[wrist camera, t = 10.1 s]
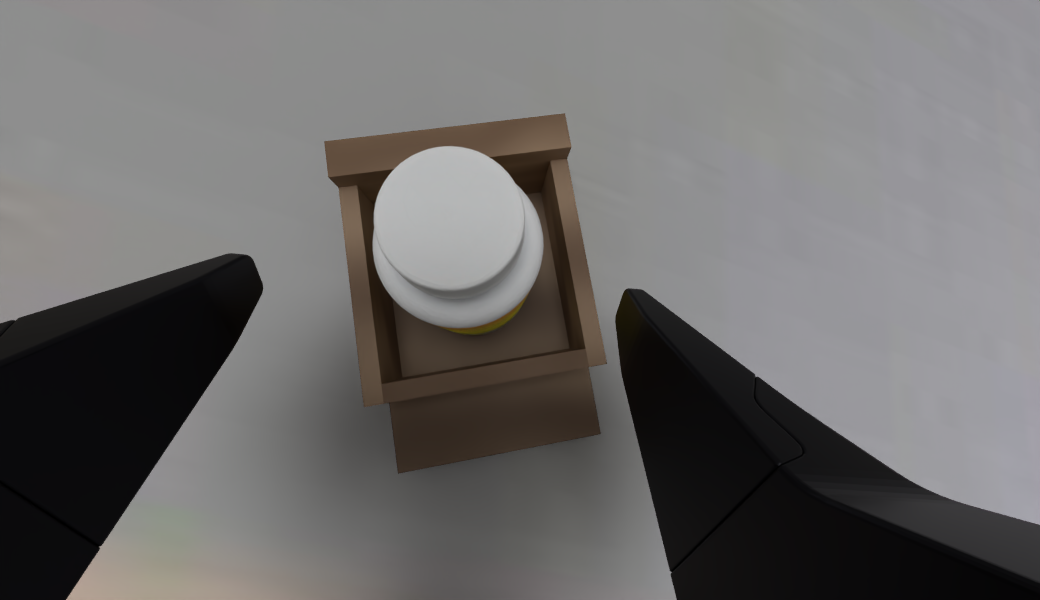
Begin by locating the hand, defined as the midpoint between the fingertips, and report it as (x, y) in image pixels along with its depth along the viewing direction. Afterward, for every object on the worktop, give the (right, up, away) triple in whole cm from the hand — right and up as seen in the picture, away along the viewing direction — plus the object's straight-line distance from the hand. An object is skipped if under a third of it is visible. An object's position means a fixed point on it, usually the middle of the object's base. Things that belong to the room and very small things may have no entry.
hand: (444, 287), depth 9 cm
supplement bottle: (-1, 0, +11) cm, 11 cm away
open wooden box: (0, -1, +11) cm, 11 cm away
